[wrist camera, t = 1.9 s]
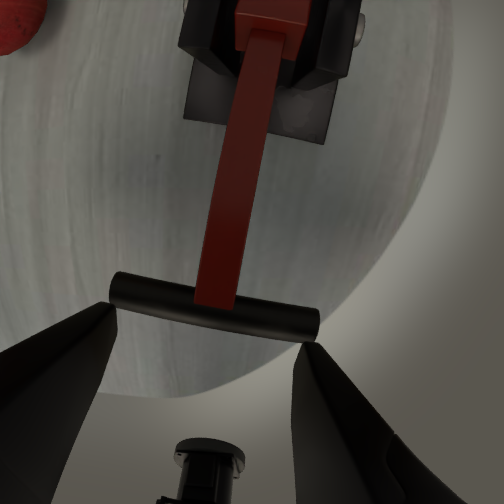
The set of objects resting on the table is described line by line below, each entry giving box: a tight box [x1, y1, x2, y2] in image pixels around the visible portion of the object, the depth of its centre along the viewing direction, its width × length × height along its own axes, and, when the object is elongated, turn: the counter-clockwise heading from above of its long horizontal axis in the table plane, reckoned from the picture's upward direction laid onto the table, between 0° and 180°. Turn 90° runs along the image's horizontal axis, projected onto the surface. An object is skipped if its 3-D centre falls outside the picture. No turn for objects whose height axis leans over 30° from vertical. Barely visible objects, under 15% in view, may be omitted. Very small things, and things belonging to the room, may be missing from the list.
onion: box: [0, 0, 47, 56], centre depth 11 cm, size 6×6×8 cm
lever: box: [109, 0, 320, 343], centre depth 9 cm, size 12×6×2 cm, turn 169°
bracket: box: [178, 0, 365, 145], centre depth 11 cm, size 10×8×10 cm
